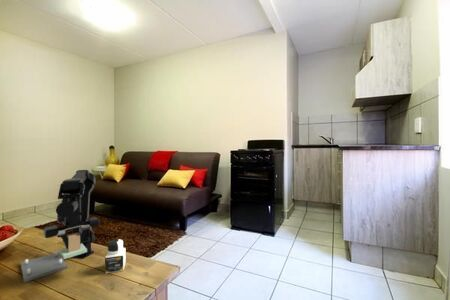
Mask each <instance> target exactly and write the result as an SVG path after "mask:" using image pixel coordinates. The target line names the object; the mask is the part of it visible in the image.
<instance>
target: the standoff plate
mask: <svg viewBox="0 0 450 300" xmlns="http://www.w3.org/2000/svg"><path fill="white" fill-rule="evenodd" d="M20 269H21V273H22V278H23V279H22V280H23V283H27V282H31V281H33V280H36V279H39V278H42V277H45V276H48V275H51V274H53V273H57V272H60V271H63V270H66V269H68V265H67V263H66V261H65V259H63V257H62V255H61V253H60V251H58V250H55V251H54V252H53V253H50V254H46V255H42V256H39V257H36V258H33V259H28V258H26V259H24V261H21V262H20Z"/></svg>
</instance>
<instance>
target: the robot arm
mask: <svg viewBox="0 0 450 300" xmlns="http://www.w3.org/2000/svg"><path fill="white" fill-rule="evenodd" d="M75 172H76V173H75V174H74V175H73V176H72V177H71V178H68V179H67V178H66V179H64V180H63V181H62V183H60V185H59V189H58V190H59V191H58V195H57V199H58V200H61V202H60V203H59V204H58V205H57V206H56V208H55V213H56V214H57V216H56V221H57V222H56V223H57V224H59V223H62V225H63V226H59V227H58V226H57V224H55V225H50V226H46V227H44V228H43V236H44V238H45V239H49V238H52V237H53V238H54V237H57V238H61V240H62V242H63V244H64V246H65V248H66V249H68V240H67V235H68V234H67V233H66V231H69V230H72V232H71V234H74V233H79V235H80V245H81V243H82V244H83V245H84V246H85V247H86V249H87V252H86V253H82V254H79V255H76V256H73V257H72V258H77V259H85V258H86V257H88V256H91V254H94V252H95V251H94V250H92V243H93V242H95V233H94V231H93V230H92V228H96V227H99V226H100V223H101V222H100V219H98V217H96V216H94V217H93V216H92V217H89V216H90V215H89V214H90V201H91V198H90V197H91V193H92V191H93V190H94V189H95V185H96V182H97V181H96V176H95V175H94V174H93V173H91V171H89V170H88V169H79V170H76V171H75Z"/></svg>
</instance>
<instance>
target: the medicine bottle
mask: <svg viewBox="0 0 450 300" xmlns="http://www.w3.org/2000/svg"><path fill="white" fill-rule="evenodd" d="M126 256H127V252H126V247H124V241H123V239H119V238H118V239H117V238H116V239H112V240H111V241H109V242H108V243H107V252H106V254H105V257H104V273H105V274H111V273H117V272H123V271H124V270H125V266H126V260H127V258H126Z"/></svg>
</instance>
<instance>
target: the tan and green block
mask: <svg viewBox="0 0 450 300" xmlns="http://www.w3.org/2000/svg"><path fill="white" fill-rule="evenodd" d="M67 240H68V249H66V247H64V248H61V249H59V252H60V254H61V256H62V258H63V259H64V260H66V259H69V258H74V257H73V256H76V255H79V254H82V253H86V252H87V249H86V247H85V246H84V245H83V244H82V243H81V245H80V235H79V233H74V234H72V233H71V234H67Z"/></svg>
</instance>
